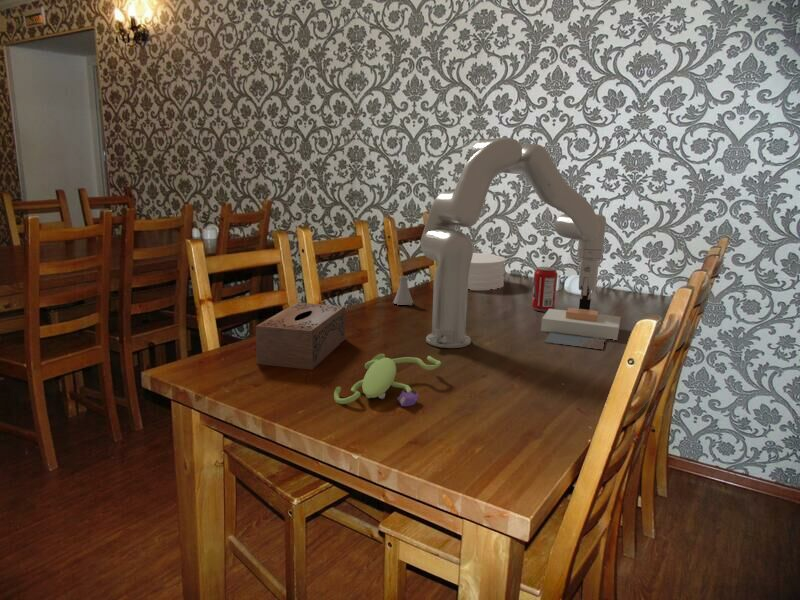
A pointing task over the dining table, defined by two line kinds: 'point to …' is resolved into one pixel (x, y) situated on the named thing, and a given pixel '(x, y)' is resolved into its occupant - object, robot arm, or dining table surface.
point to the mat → (569, 339)
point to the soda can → (544, 289)
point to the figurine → (385, 380)
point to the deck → (581, 325)
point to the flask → (403, 293)
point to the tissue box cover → (300, 335)
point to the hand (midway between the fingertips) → (584, 310)
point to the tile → (582, 314)
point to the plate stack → (486, 272)
